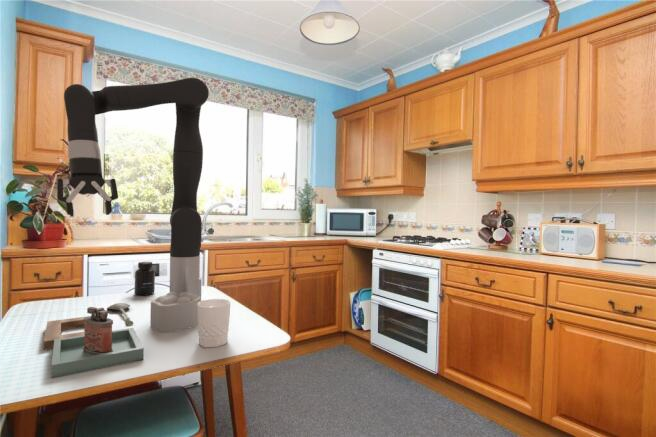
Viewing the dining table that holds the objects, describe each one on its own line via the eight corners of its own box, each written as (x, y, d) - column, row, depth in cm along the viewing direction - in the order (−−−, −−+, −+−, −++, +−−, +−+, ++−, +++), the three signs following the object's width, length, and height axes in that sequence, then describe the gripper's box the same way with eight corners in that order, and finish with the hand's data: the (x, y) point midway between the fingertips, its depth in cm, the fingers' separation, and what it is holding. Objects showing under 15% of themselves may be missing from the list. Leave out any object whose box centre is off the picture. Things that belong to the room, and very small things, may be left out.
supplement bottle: (146, 296, 133) (146, 264, 133) (130, 295, 135) (130, 263, 134) (158, 292, 140) (159, 261, 140) (143, 291, 141) (143, 260, 141)
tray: (133, 337, 92) (133, 327, 92) (143, 359, 79) (143, 348, 79) (54, 350, 83) (54, 339, 83) (51, 378, 70) (51, 365, 70)
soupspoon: (128, 309, 121) (105, 313, 117) (128, 299, 121) (105, 302, 117) (142, 324, 104) (115, 329, 100) (141, 312, 104) (115, 317, 100)
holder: (100, 321, 104) (100, 314, 104) (104, 340, 90) (105, 332, 90) (47, 328, 97) (47, 321, 97) (43, 350, 83) (43, 341, 83)
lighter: (116, 353, 81) (117, 308, 81) (101, 358, 78) (102, 312, 78) (94, 346, 85) (94, 303, 84) (79, 351, 82) (79, 307, 81)
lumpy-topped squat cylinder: (146, 325, 102) (147, 294, 102) (190, 315, 112) (191, 287, 111) (162, 334, 95) (163, 301, 95) (208, 323, 105) (208, 293, 104)
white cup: (201, 337, 94) (201, 298, 94) (232, 336, 95) (232, 298, 94) (192, 348, 86) (193, 307, 86) (226, 348, 87) (227, 307, 86)
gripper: (54, 155, 95) (60, 216, 95) (116, 157, 104) (121, 213, 104) (53, 160, 101) (58, 218, 101) (111, 161, 110) (116, 214, 110)
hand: (90, 215), depth 103 cm, fingers open, 8 cm apart
